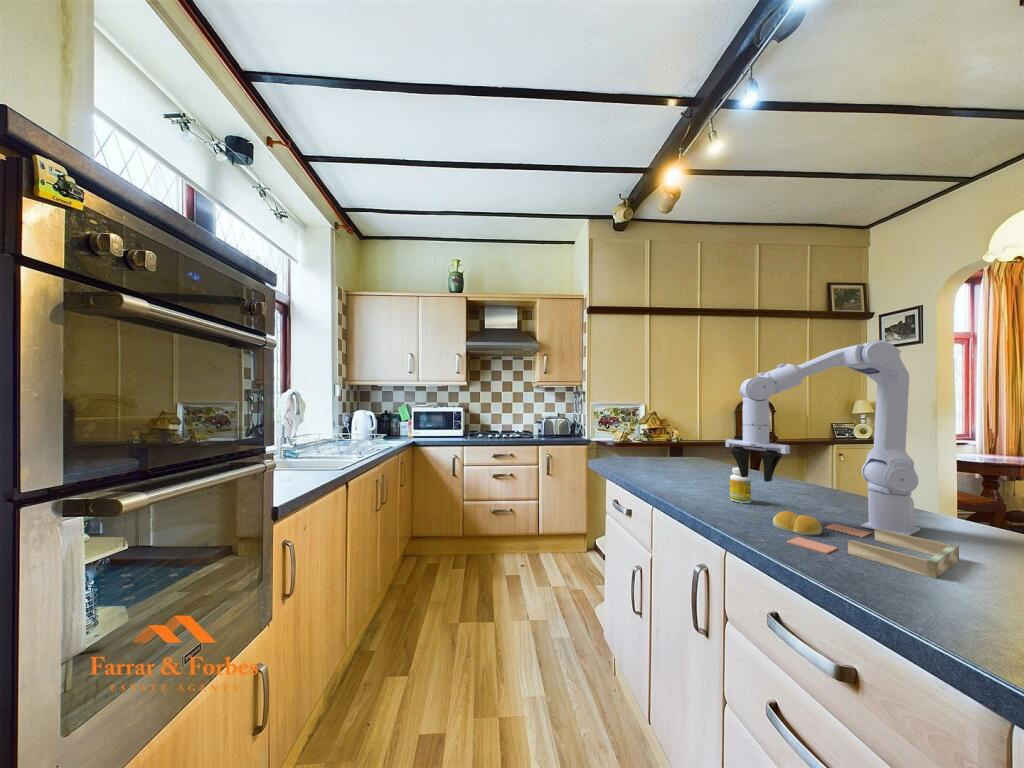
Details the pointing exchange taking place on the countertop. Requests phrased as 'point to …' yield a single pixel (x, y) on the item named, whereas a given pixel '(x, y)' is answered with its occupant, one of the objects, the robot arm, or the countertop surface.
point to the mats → (823, 547)
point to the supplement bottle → (740, 487)
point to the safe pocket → (931, 567)
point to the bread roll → (797, 523)
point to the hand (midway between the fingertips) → (755, 478)
